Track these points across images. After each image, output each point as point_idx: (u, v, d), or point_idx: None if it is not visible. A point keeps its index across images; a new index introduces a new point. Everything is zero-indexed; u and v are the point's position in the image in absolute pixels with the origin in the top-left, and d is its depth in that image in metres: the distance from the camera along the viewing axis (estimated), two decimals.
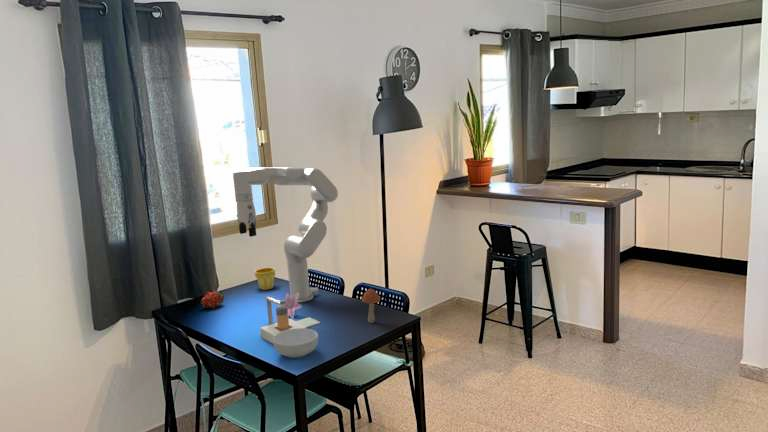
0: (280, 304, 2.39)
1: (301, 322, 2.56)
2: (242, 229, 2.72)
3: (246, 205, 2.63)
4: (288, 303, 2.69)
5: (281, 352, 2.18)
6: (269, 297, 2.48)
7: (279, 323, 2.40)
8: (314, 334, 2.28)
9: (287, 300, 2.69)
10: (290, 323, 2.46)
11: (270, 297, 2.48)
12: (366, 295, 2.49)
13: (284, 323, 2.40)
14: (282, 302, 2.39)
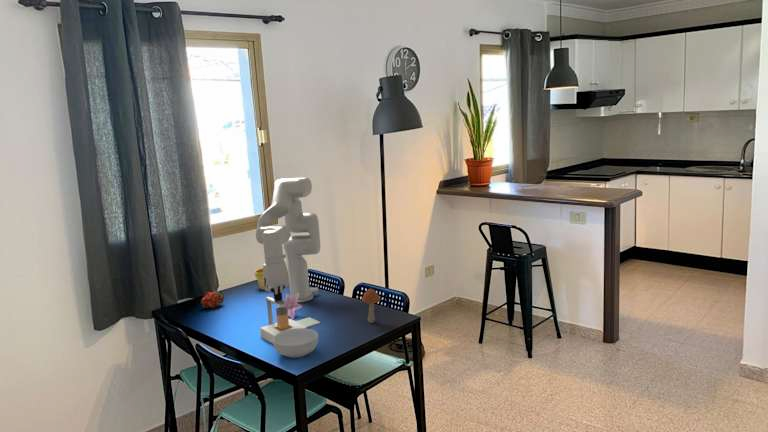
0: (279, 304, 2.39)
1: (301, 322, 2.56)
2: None
3: (285, 265, 2.46)
4: (288, 303, 2.68)
5: (281, 352, 2.18)
6: (269, 297, 2.48)
7: (279, 323, 2.40)
8: (314, 334, 2.28)
9: (287, 300, 2.69)
10: (290, 323, 2.46)
11: (270, 297, 2.48)
12: (366, 295, 2.49)
13: (284, 323, 2.40)
14: (281, 302, 2.38)
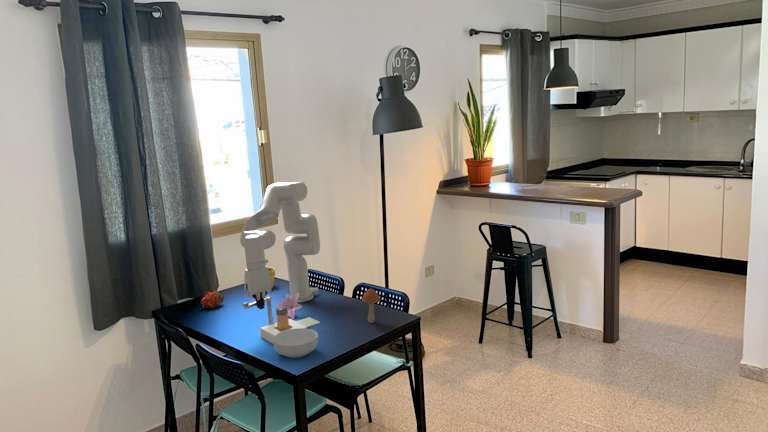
0: None
1: (301, 322, 2.56)
2: None
3: (267, 270, 2.41)
4: (288, 303, 2.68)
5: (281, 352, 2.18)
6: (267, 297, 2.48)
7: (279, 323, 2.40)
8: (313, 334, 2.29)
9: (287, 300, 2.69)
10: (290, 323, 2.46)
11: (267, 298, 2.48)
12: (366, 295, 2.49)
13: (284, 323, 2.40)
14: (243, 304, 2.39)
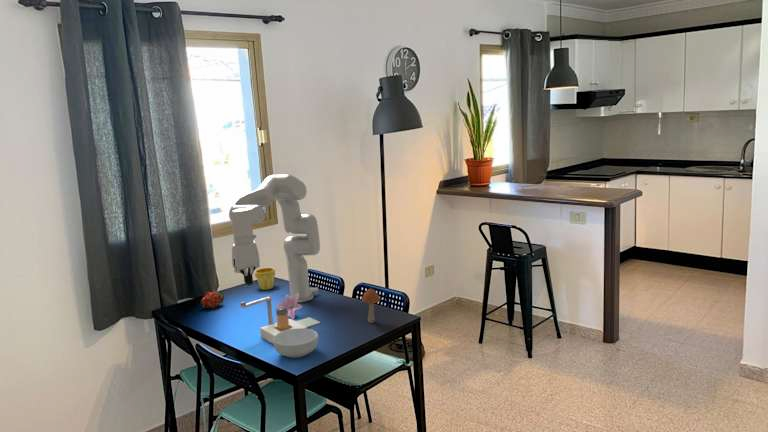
0: None
1: (301, 322, 2.56)
2: None
3: (256, 246, 2.37)
4: (288, 304, 2.68)
5: (281, 352, 2.18)
6: (266, 297, 2.48)
7: (279, 323, 2.40)
8: (313, 334, 2.29)
9: (287, 301, 2.68)
10: (290, 323, 2.46)
11: (266, 298, 2.48)
12: (366, 295, 2.49)
13: (284, 323, 2.40)
14: (240, 303, 2.40)
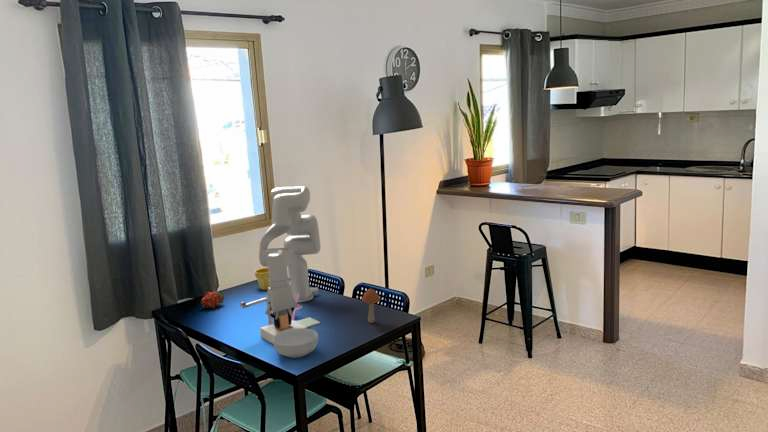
0: None
1: (301, 322, 2.56)
2: None
3: (290, 288, 2.41)
4: None
5: (281, 352, 2.18)
6: (266, 297, 2.48)
7: None
8: (313, 334, 2.29)
9: None
10: None
11: (266, 298, 2.48)
12: (366, 295, 2.49)
13: (284, 323, 2.40)
14: (240, 303, 2.40)
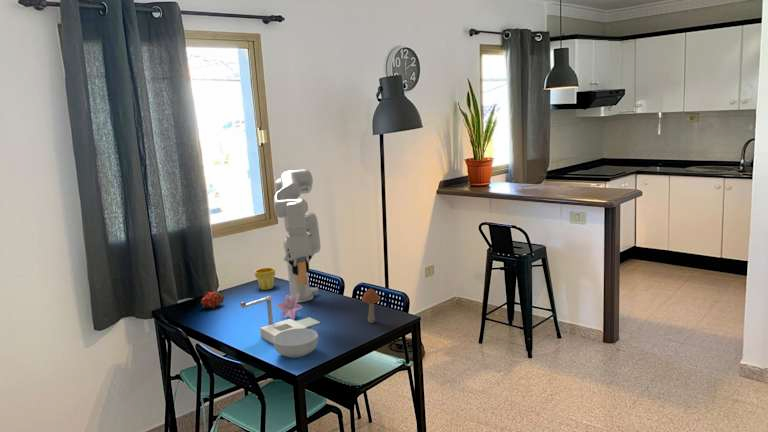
0: None
1: (301, 322, 2.56)
2: None
3: None
4: (288, 304, 2.67)
5: (281, 352, 2.18)
6: (266, 297, 2.48)
7: None
8: (313, 334, 2.29)
9: (287, 301, 2.67)
10: (290, 323, 2.46)
11: (266, 298, 2.48)
12: (366, 295, 2.49)
13: (302, 270, 2.50)
14: (240, 303, 2.40)
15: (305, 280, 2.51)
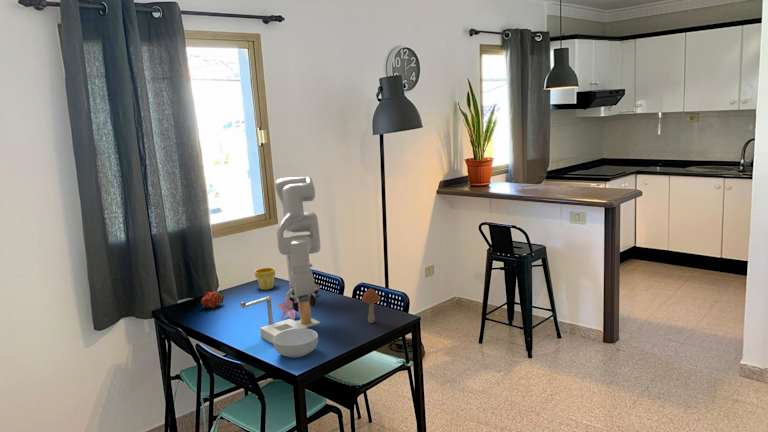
0: None
1: None
2: None
3: (312, 274, 2.54)
4: (288, 304, 2.67)
5: (281, 352, 2.18)
6: (266, 297, 2.48)
7: (301, 309, 2.53)
8: (313, 334, 2.28)
9: (287, 301, 2.67)
10: (290, 323, 2.46)
11: (266, 298, 2.48)
12: (366, 295, 2.49)
13: (306, 309, 2.53)
14: (240, 303, 2.40)
15: (309, 319, 2.54)
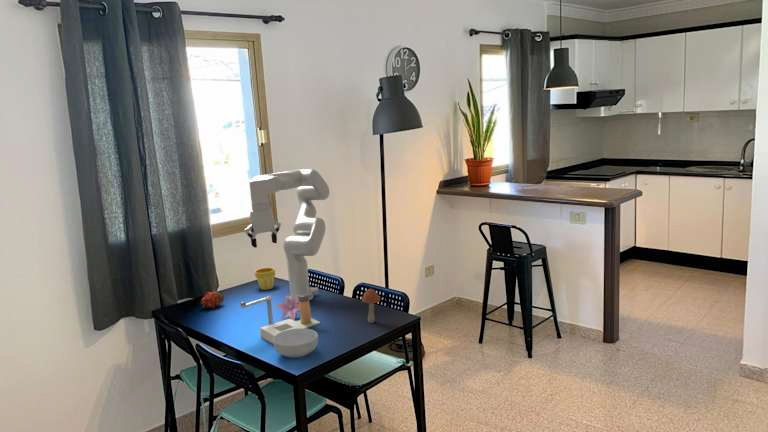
0: None
1: None
2: None
3: (271, 212, 2.61)
4: (288, 305, 2.66)
5: (281, 352, 2.18)
6: (266, 297, 2.48)
7: (301, 309, 2.53)
8: (314, 334, 2.28)
9: (287, 302, 2.67)
10: (290, 323, 2.46)
11: (266, 298, 2.48)
12: (366, 295, 2.49)
13: (306, 309, 2.53)
14: (240, 303, 2.40)
15: (309, 319, 2.54)
